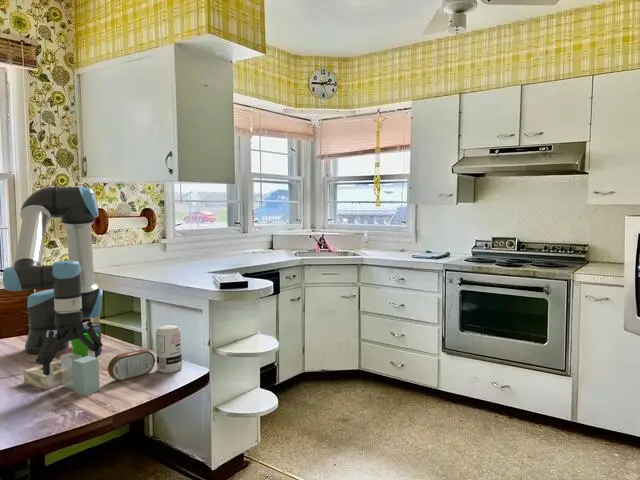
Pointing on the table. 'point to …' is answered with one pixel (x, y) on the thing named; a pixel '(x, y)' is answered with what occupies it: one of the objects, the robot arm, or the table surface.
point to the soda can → (97, 331)
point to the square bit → (86, 375)
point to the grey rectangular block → (68, 369)
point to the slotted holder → (43, 376)
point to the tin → (131, 364)
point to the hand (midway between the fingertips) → (72, 377)
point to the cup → (81, 346)
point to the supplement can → (169, 348)
